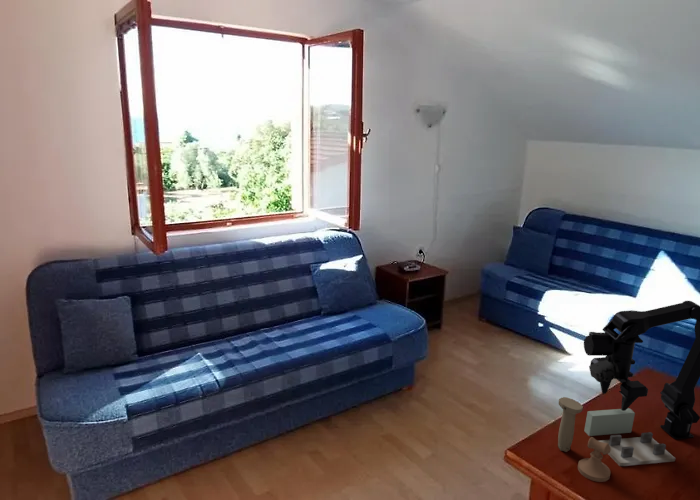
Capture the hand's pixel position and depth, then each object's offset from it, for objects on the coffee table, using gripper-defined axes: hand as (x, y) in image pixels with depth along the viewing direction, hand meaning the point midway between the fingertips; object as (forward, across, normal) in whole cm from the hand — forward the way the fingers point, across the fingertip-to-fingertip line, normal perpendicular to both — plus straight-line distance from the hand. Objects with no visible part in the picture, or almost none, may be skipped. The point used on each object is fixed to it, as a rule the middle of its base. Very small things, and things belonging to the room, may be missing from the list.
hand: (613, 401), depth 156 cm
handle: (+10, +6, -18) cm, 22 cm away
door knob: (+11, +16, -15) cm, 24 cm away
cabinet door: (+11, 0, 0) cm, 11 cm away
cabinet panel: (+10, +10, +2) cm, 15 cm away
